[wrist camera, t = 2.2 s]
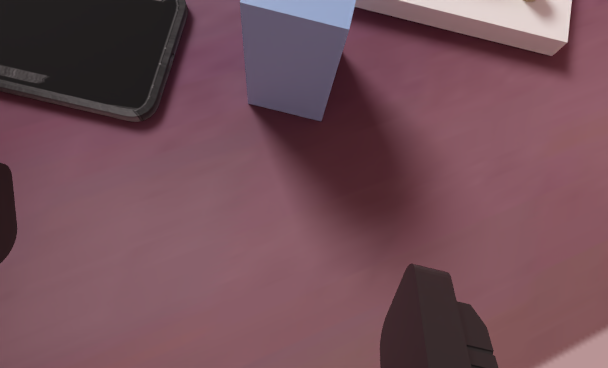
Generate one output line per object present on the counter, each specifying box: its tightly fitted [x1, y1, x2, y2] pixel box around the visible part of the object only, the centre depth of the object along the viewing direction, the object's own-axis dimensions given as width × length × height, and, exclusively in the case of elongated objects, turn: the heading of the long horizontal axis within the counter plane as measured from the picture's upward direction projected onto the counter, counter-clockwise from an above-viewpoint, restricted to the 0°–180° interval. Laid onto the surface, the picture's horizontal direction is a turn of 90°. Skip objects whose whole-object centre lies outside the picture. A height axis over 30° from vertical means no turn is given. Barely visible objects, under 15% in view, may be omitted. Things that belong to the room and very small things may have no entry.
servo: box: [240, 0, 356, 121], centre depth 22 cm, size 4×4×10 cm
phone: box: [0, 0, 188, 122], centre depth 26 cm, size 8×1×15 cm
